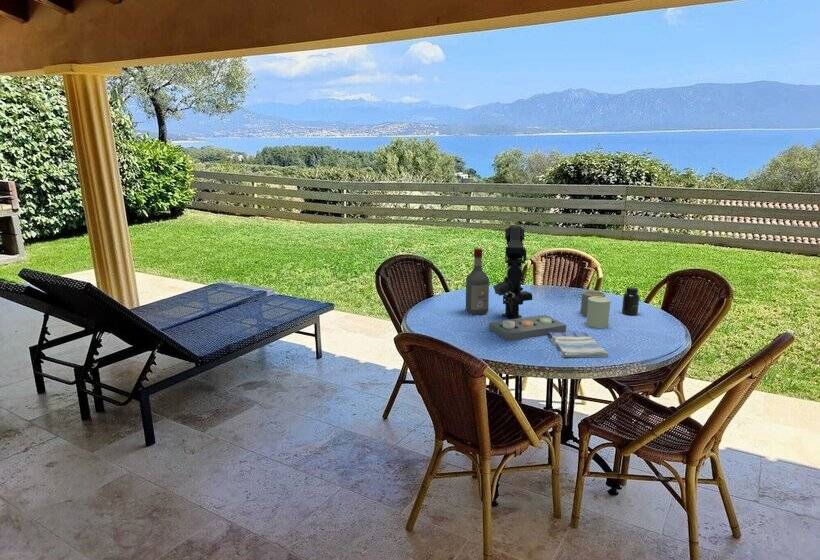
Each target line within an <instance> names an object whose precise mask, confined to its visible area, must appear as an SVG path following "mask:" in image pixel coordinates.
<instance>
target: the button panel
mask: <svg viewBox="0 0 820 560" xmlns="http://www.w3.org/2000/svg"><path fill="white" fill-rule="evenodd" d="M540 318H550V319H552V323H549V324H542V323H540ZM507 320H508V321H514V322H515V329H509V330H505V329H504V328H502V326H503V321H507ZM524 320H529V321H532V322H534V324H533V326H529V327H524V326H522V325H521V322H522V321H524ZM489 329H490V330H489ZM488 330H489V331H491V332H492V331H493V333H494V334H495V333H496V334H495V335H497V336H498V335H499V336H498V337H500V338H502V339H503V340H505V341H506V342H510V341H517V340H522V339H530V338H536V337H542V336H548V333H549V332H552V333H563V332H567V324H566V323H563V322H561V321H560V320H557V319H555V318H553V317H551V316H549V315H547V314H541V315H533V316H532V315H531V316H526V317H518V318H511V319H505V320H504V319H503V320H498V321H490V322H488Z"/></svg>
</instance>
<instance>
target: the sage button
mask: <svg viewBox="0 0 820 560" xmlns="http://www.w3.org/2000/svg"><path fill="white" fill-rule="evenodd" d="M540 323H542V324H549V323H552V319H550V318H540Z"/></svg>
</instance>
